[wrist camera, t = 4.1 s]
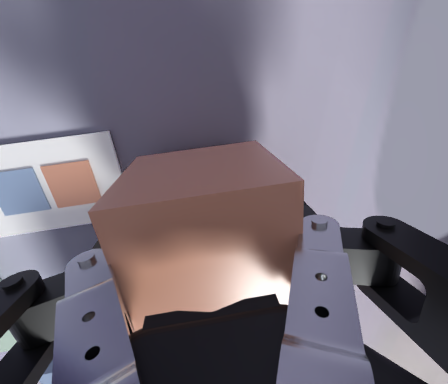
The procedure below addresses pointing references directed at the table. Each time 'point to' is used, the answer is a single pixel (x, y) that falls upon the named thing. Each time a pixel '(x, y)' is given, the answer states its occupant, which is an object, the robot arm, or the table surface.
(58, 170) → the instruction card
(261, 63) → the table surface
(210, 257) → the brick terracotta
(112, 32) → the table surface
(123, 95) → the table surface
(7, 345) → the baseplate
